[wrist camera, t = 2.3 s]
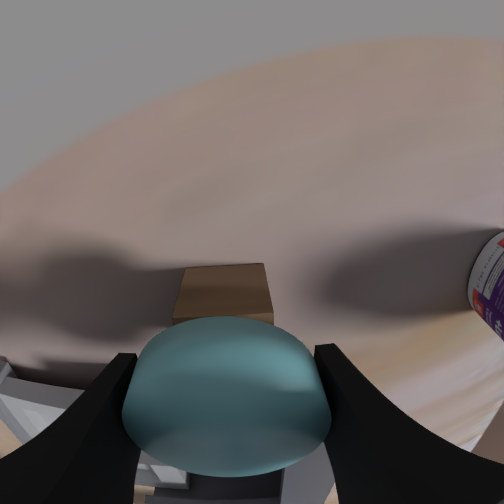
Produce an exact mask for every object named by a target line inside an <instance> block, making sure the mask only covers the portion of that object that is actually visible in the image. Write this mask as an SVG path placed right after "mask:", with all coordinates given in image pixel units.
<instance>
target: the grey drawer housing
mask: <svg viewBox="0 0 504 504" xmlns="http://www.w3.org/2000/svg"><path fill="white" fill-rule="evenodd" d="M139 464H148V465H158V466H169V465H167V464H164V463H162V462H160V461H158V460H156V459H155V458H153V457H151V456H150V455H148V454H147V453H145V452H144V451H143V450H141V454H140V458H139ZM334 483H335V478H334V474H333V470H332V467H331V464H330V460H329V457H328V454H327V451H326V448H325V445H324V442H322V443H321V444H320V446H319V447H318V448H317V449H315V450H314V451H313V452H312V453H311V454H309V455H308V456H306V457H305V458H303V459H301V460H300V461H298V462H296V463H294V464H292V465H289V466H287V467H284V468H282V469H279V470H276V471H272V472H268V473H264V474H259V475H252V476H243V477H216V476H207V475H200V474H195V473H190V485H189V489H173V488H161V487H155V491H154V496H149V495H146V498H145V504H324V502H325V500H326V498H327V496H328V494H329V492H330V491H331V489H332V487H333V485H334Z"/></svg>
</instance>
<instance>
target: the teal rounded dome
mask: <svg viewBox="0 0 504 504" xmlns="http://www.w3.org/2000/svg"><path fill="white" fill-rule="evenodd" d="M122 421H123V425H124V428H125V430H126V432H127V434H128V435H129V437H130V438H131V439H132V441H133V442H134V443H135V444H136V445H137V446H138V447H139V448H140V449H142V450H143V451H144V452H145V453H147V454H148V455H150V456H151V457H153V458H155V459H156V460H158V461H160V462H162V463H164V464H167V465H169V466H171V467H174V468H177V469H180V470H183V471H187V472H190V473H195V474H200V475H207V476H216V477H243V476H252V475H259V474H264V473H268V472H272V471H276V470H279V469H282V468H284V467H287V466H289V465H292V464H294V463H296V462H298V461H300V460H301V459H303V458H305V457H306V456H308V455H309V454H311V453H312V452H313V451H314V450H315V449H317V448H318V447H319V446H320V444H321V443H322V442H323V441H324V440H325V438H326V436H327V435H328V433H329V430H330V428H331V422H332V418H331V411H330V408H329V404H328V401H327V398H326V395H325V391H324V388H323V385H322V382H321V378H320V375H319V372H318V369H317V366H316V363H315V360H314V358H313V356H312V355H311V353H310V351H309V350H308V349H307V348H306V346H305V345H304V344H303V343H302V342H301V341H299V340H298V339H297V338H296V337H295V336H293V335H291V334H290V333H288V332H286V331H285V330H283V329H281V328H278V327H276V326H274V325H271V324H268V323H265V322H262V321H258V320H253V319H248V318H241V317H232V316H215V317H205V318H199V319H194V320H189V321H186V322H183V323H179V324H176V325H174V326H172V327H170V328H168V329H166V330H164V331H162V332H161V333H159V334H158V335H156V336H155V337H154V338H153V339H152V340H150V341H149V342H148V343H147V345H146V346H145V347H144V348H143V350H142V352H141V353H140V355H139V357H138V360H137V363H136V366H135V369H134V372H133V375H132V379H131V382H130V385H129V388H128V391H127V395H126V398H125V401H124V404H123V409H122Z"/></svg>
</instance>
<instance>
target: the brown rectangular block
mask: <svg viewBox="0 0 504 504" xmlns="http://www.w3.org/2000/svg"><path fill="white" fill-rule="evenodd" d="M215 316H232V317H241V318H248V319H253V320H258V321H262V322H265V323H268V324H271V325H274V312H273V307H272V302H271V297H270V292H269V288H268V283H267V278H266V273H265V268H264V263H262V264H246V265H228V266H211V267H192V268H186V269H185V273H184V276H183V280H182V283H181V287H180V290H179V294H178V297H177V301H176V304H175V308H174V312H173V315H172V320H173V325H176V324H179V323H183V322H186V321H189V320H194V319H199V318H205V317H215Z"/></svg>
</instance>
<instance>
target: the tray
mask: <svg viewBox="0 0 504 504" xmlns="http://www.w3.org/2000/svg"><path fill="white" fill-rule="evenodd" d="M84 391H85V390H79V389H71V388H65V387H58V386H52V385H46V384H41V383H35V382H30V381H25V380H20V379H18V378H17V377H16V375H15V373H14V372H13V370H12V368H11V367H10V365H9V363H8V362H5V361H0V418H1V419H2V420H3V422H4V423H5V424H6V425H7V427H8V428H9V429H10V430H11V431H12V432H13V434H14V435H15V436H16V437H17V438H18V439H19V440H20V442H21V443H22V444H23V445H24V444H25V443H27V442H28V441H29V440H31V439H32V438H34V437H35V436H37V435H38V434H39V433H40V432H42V431H43V430H44V429H45V428H46V427H48V426H49V425H50V424H51V423H52V422H54V421H55V420H56V419H57V418H58V417H59V416H60V415H61V414H62V413H63V412H64V411H65V410H66V409H67V408H68V407H69V406H70V405H71V404H72V403H73V402H74V401H75V400H76V399H77V398H78V397H79V396H80V395H81V394H82V393H83V392H84ZM135 484H136V485H143V486H151V487H161V488H173V489H189V485H190V472H187V471H183V470H180V469H177V468H174V467H171V466H158V465H148V464H139V463H138V467H137V472H136V478H135Z"/></svg>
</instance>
